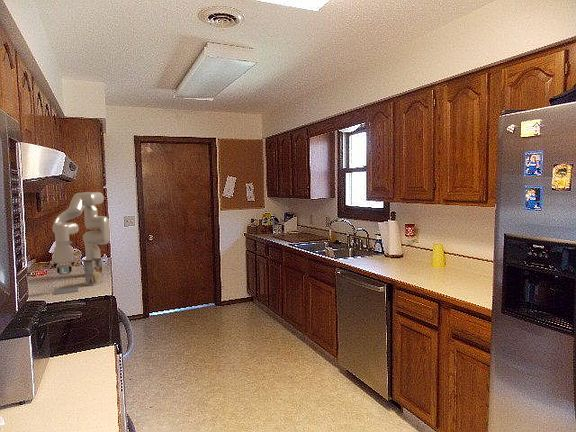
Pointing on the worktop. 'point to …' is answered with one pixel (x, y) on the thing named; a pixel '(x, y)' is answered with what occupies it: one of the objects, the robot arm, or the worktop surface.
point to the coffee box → (93, 271)
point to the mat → (65, 290)
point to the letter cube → (64, 270)
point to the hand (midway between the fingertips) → (64, 273)
